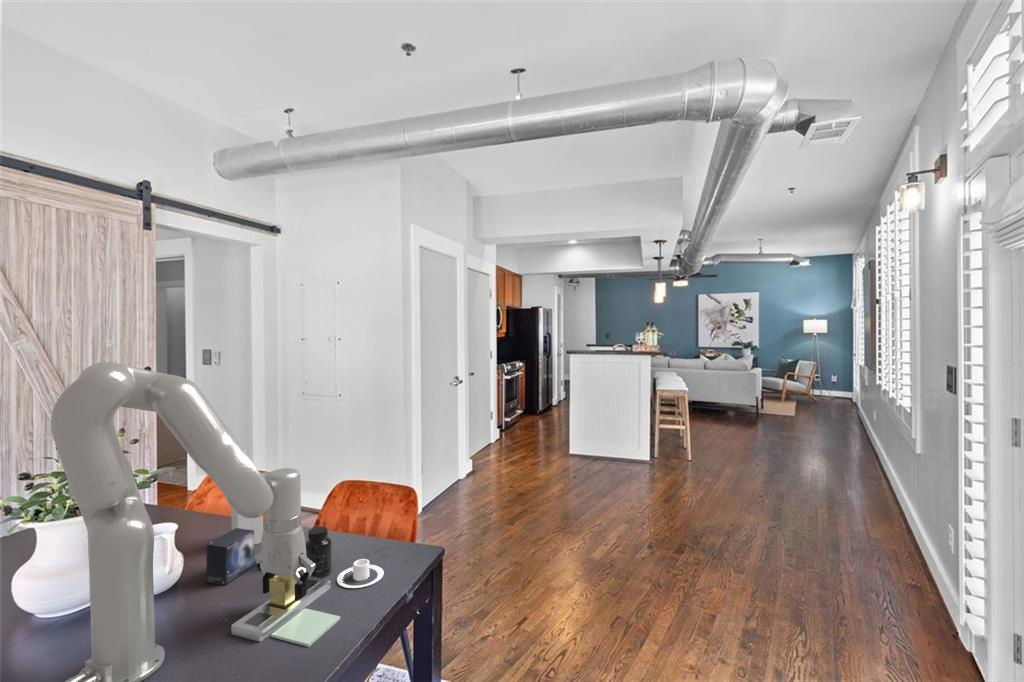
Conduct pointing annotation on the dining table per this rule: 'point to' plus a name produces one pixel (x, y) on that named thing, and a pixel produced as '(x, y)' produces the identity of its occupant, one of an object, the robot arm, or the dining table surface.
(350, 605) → the dining table surface
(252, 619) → the rail
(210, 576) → the small box
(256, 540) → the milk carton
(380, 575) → the candle holder
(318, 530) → the supplement bottle
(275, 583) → the yellow block
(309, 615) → the pad
